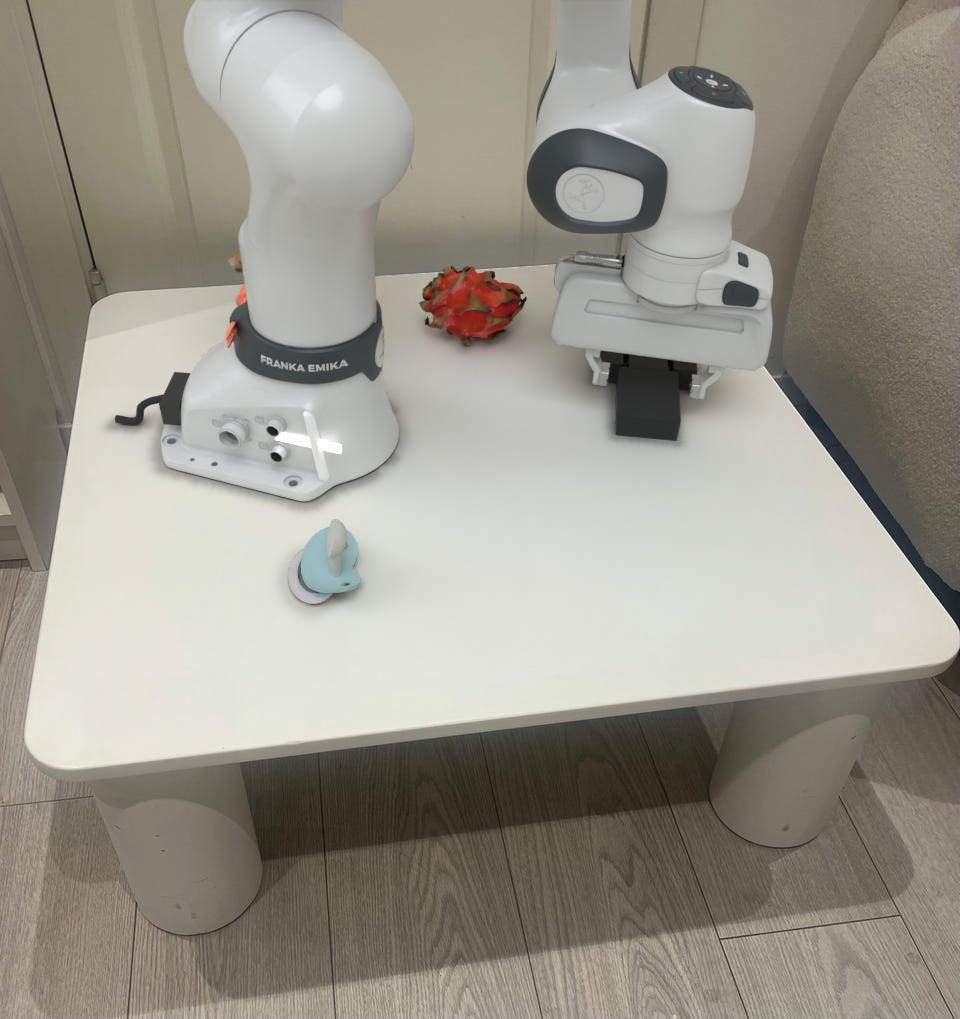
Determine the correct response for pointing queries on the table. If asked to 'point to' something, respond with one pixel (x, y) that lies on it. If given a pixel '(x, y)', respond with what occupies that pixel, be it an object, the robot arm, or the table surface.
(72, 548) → the table surface
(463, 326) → the dragon fruit
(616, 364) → the notch pad
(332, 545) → the pacifier
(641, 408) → the pad
